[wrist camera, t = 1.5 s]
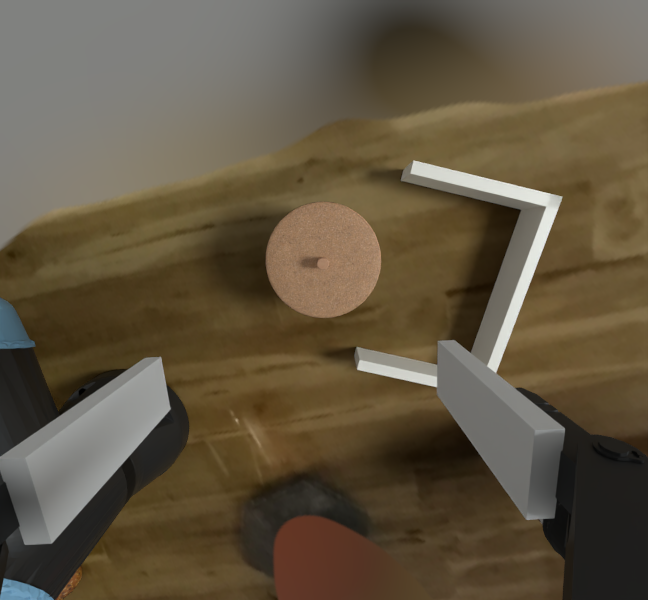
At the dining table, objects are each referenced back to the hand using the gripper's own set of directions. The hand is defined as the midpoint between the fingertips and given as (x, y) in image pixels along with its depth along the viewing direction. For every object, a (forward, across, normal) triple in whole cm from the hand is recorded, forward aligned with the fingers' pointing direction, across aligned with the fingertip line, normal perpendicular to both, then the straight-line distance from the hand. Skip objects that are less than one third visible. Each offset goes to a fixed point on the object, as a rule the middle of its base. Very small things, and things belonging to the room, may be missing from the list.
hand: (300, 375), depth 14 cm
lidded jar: (+22, +1, +4) cm, 23 cm away
